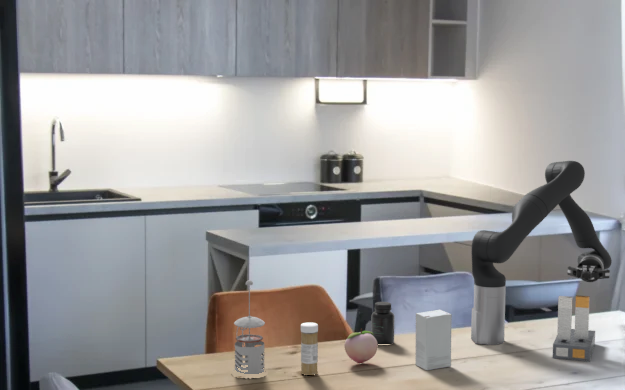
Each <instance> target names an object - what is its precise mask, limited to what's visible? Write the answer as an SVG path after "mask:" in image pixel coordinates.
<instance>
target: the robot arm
mask: <svg viewBox="0 0 625 390" xmlns="http://www.w3.org/2000/svg"><path fill="white" fill-rule="evenodd" d="M585 173H586V172H585V168H584V166H583V165H582V164H581V163H580V162H579V161H576V160H575V161H574V160H566V161H564V160H563V161H555V162H550V163H549V164H548V165H547V166H546V168H545V172H544V178H545V182H546V183H545V184H543V185H540V186H538V187H537V188H534V189H532V190H531V191H529V192H528V193H526V194H525V195H523V197H521V199H519V200H518V202H517V203H515V204H514V206H513V208H512V212H511V223H510V224H509V226H508V227H506V228H505V229H504V230H503V231H494V230H484V229H483V230H478V231H477V232H476V233H475V234H474V236H473V238H472V242H471V273H472V277H473V307H472V308H471V321H470V322H471V325H470V328H471V329H470V331H471V333H470V339H471V341H473V342H474V343H475V344H479V345H480V344H481V345H487V346H488V345H489V346H490V345H491V346H492V345H494V346H496V345H501V344H504V343H505V326H506V325H505V322H506V321H505V320H506V315H505V314H506V289H507V288H506V286H507V285H506V280H507V278H506V276H505V274H503V273H502V272H501V271H499V270H498V269H497V268H496V266H494V264H503V263H505V262H507V261H508V260H509V259H510V258H511V257H512V256H513V255H514V253H515V252H516V251H517V250H518V248H519V247H520V246H521V244H522V243H523V242H524V241H525V239H526V238H527V237H528V236H529V235H530V234H531V233H532V231H533V230H534V229H535V228H537V227H538V226H539V224H541V222H543V221H544V219H546V218H547V216H548V215H549V214H550V213H551V212H552V211H553V210H554V209H555V208H556V207H557V206H559V208H560V210H561V211H562V213H563V215H564V216H565V219H566V221H567V223H568V225H569V228H570V230H571V233H572V236H573V238H574V241H575V245H576V246H577V247H578V248H579V249H593V250H590V251H586V252H583V253H580V254H579V255H578V257H577V266H575V267H573V266H567V272H566V273H567V274H566V275H567V276H571V277H573V278H577V279H580V280H582V281H583V282H586V283H594V282H596V281H598V280H604V279H610V275H611V270H610V267H611V265H612V257H611V255H610V253H609V252H608V250H607V249H606V248H605V247H604V245H603V244H602V242H601V241H600V239H599V237H598V234H597V233H596V229H595V227H594V223H593V222H592V220H591V218H590V216H589V215H588V214H587V212H586V211H584V209H583V208H582V207H581V206H580V205H579V204H578V203H577V202H576V201H575V200H574V198H573V197H572V196H571V194H572V193H573V192H575V191H576V190H578V189H579V187H580V186H582V184H583V182H584V179H585V175H586V174H585Z"/></svg>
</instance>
